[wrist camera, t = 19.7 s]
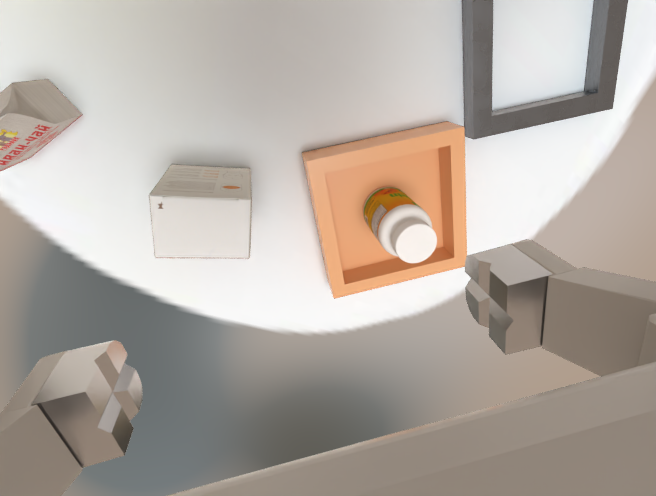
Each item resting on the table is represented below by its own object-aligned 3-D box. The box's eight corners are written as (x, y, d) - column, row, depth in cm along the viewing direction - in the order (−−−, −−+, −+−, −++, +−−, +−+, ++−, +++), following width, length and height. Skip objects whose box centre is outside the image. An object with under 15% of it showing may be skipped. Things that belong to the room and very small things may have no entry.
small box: (173, 214, 42) (151, 259, 33) (170, 162, 40) (145, 194, 31) (250, 217, 44) (250, 261, 34) (252, 167, 42) (252, 199, 32)
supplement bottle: (416, 194, 45) (455, 226, 36) (395, 236, 47) (428, 276, 38) (374, 178, 43) (404, 208, 35) (354, 222, 45) (378, 261, 36)
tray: (301, 152, 42) (306, 161, 38) (446, 121, 43) (464, 126, 39) (328, 281, 49) (333, 298, 45) (451, 251, 50) (467, 265, 47)
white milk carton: (-7, 125, 36) (-92, 147, 27) (48, 79, 35) (-21, 86, 26) (29, 158, 38) (-39, 189, 29) (82, 114, 37) (28, 132, 28)
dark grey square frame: (461, -39, 37) (472, -43, 35) (620, -68, 38) (638, -74, 36) (464, 136, 44) (473, 139, 42) (598, 106, 45) (612, 108, 43)
